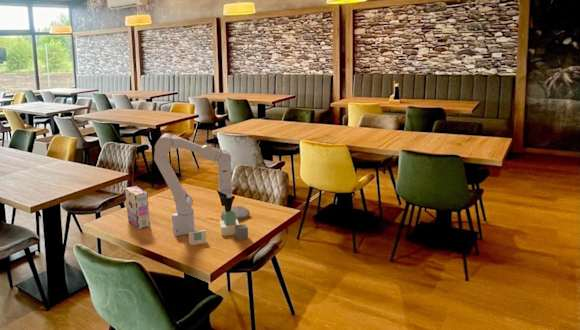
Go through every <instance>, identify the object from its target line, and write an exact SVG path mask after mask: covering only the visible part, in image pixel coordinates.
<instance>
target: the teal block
mask: <svg viewBox="0 0 580 330" xmlns="http://www.w3.org/2000/svg"><path fill="white" fill-rule="evenodd" d="M223 211H224V212H223V219H222V221H224V224H225V225H226V226H228V225H235V224H236V218H235V213H234V211H233V210H231V211H229V212H226V211H225V210H223Z"/></svg>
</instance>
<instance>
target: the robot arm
mask: <svg viewBox="0 0 580 330" xmlns="http://www.w3.org/2000/svg"><path fill="white" fill-rule="evenodd" d="M172 148H173V150H177V149H185V150H188V151H191V152H193V153H197V154H199V156H200V157H201V158H203V159H205V160H207V161H210V162H213V163H216V164H217V165H218V168H217V172H218V174H217V175H218V176H217V177H218V180H217V181H218V190H216V192H217V194H218V196H219V199H220V204H221V206H222V207H224V211H226V212H229V211H231V207H233V203H234V200H235V195H232V193H233V191H235V189H236V188H235V187H234V186H233V181H232V180H233V179H232V178H233V177H232V164H231V163H232V155H231V153H230V152H229V151H228V150H225V149H221V148H220V149H218V148H216V147H213V146H212V144H204V145H200V144H197V143H195V142H193V141H190V140H188V139H186V138H183V137H181V136H178V135H176V134H172V133H169V132H166V133H162V135H160V137H159V138H158V140H156V143H155V145H154V152H153V153H154V154H153V160H154V162H155V164H156V166H157V168H158V170H159V172H160V174H161V175H162V177H163V179H164V181H165V183H166V185H167V187H168V189H169V190H170V192H171V194H172V196H173V201H174V203H175V209H176V212H174V213H172V214H171V222H172V231H173V234H174V236H175V237H177V236H186V235H189V232H195V231H197V229H196V227H195V214H194V213H195V212H194V209H193V208H192V205H193V203H194V199H193V197H192V196H191V195H190V194H188V192H187V191H186V189H184V187H183V186H182V184H181V182H180V180H179V178H178V176H177V175H176V172H175V171H174V169H173V166H172V164H171V163H170V161H169V160H168V155H169V152H170V151H171V149H172Z"/></svg>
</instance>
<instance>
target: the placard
mask: <svg viewBox="0 0 580 330" xmlns="http://www.w3.org/2000/svg"><path fill="white" fill-rule="evenodd" d="M207 243H208V241H207V229H203V230H196V231H195V232H189V234H188V244H189V246H194V245H201V244H207Z"/></svg>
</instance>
